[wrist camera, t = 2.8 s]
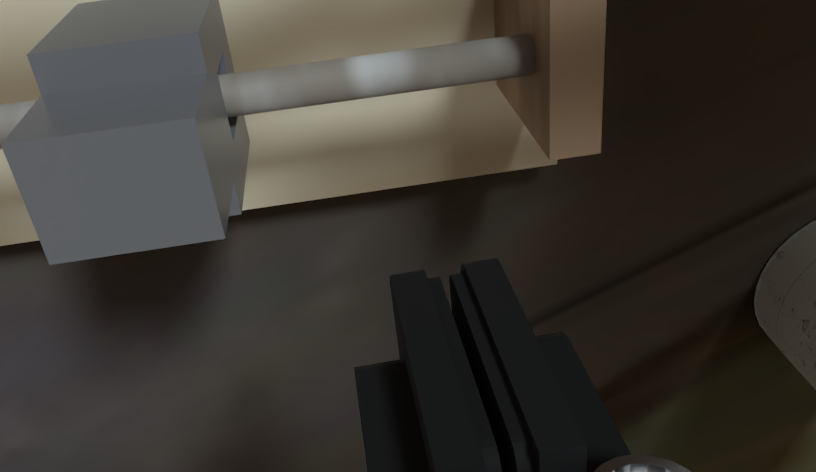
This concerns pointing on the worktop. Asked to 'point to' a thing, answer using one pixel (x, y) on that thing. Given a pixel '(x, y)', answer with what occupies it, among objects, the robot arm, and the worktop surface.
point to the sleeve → (130, 131)
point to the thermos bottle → (791, 300)
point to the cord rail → (370, 91)
